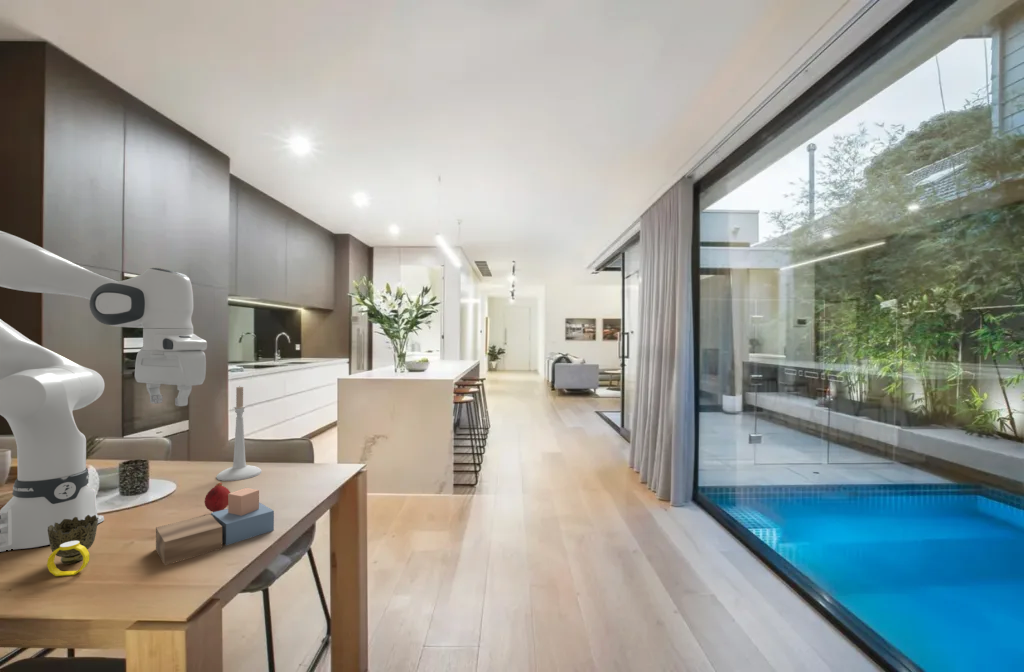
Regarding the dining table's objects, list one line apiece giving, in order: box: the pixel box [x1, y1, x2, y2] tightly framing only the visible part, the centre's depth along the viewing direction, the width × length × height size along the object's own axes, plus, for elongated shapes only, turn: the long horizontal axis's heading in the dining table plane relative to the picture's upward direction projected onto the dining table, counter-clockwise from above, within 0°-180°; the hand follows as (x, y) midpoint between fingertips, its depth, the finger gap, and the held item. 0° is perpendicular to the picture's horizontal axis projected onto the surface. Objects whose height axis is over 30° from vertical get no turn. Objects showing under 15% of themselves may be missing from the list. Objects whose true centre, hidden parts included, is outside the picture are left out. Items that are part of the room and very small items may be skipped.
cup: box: [48, 515, 99, 565], centre depth 91 cm, size 8×7×8 cm
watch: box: [46, 541, 90, 577], centre depth 85 cm, size 6×3×6 cm, turn 105°
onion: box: [204, 481, 231, 513], centre depth 115 cm, size 6×6×8 cm
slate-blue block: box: [210, 501, 275, 546], centre depth 105 cm, size 10×10×5 cm
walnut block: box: [155, 513, 223, 566], centre depth 96 cm, size 10×10×5 cm
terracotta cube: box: [227, 487, 260, 516], centre depth 105 cm, size 4×4×4 cm
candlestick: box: [216, 385, 262, 482], centre depth 148 cm, size 13×13×30 cm
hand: (168, 404), depth 98 cm, fingers open, 8 cm apart
